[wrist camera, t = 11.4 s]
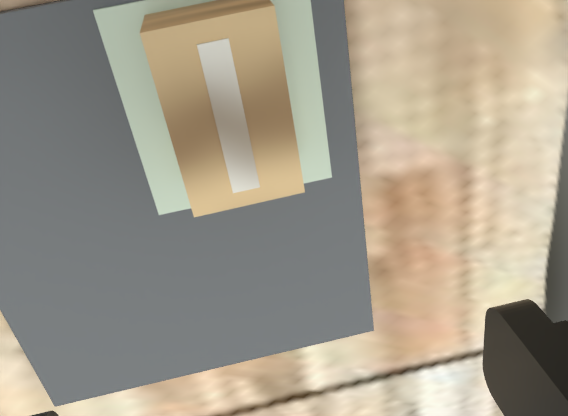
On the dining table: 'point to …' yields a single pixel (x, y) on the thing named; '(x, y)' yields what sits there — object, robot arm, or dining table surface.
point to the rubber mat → (164, 208)
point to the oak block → (225, 102)
